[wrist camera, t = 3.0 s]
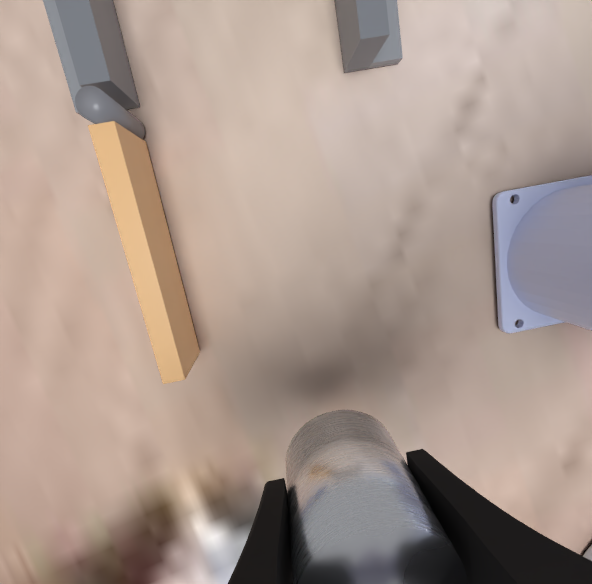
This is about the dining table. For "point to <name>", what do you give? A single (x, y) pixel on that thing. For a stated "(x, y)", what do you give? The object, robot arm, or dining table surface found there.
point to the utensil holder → (588, 553)
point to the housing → (115, 66)
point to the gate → (142, 230)
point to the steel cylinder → (361, 509)
